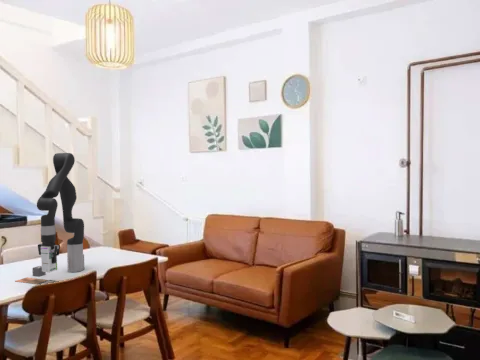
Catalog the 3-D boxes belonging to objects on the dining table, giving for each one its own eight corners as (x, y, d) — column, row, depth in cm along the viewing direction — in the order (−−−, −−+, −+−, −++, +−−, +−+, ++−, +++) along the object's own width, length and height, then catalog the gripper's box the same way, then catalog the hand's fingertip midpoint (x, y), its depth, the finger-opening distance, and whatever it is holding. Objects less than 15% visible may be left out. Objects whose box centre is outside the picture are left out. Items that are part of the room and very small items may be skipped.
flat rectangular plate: (26, 277, 233) (26, 277, 233) (60, 281, 225) (60, 281, 225) (14, 281, 226) (14, 281, 226) (48, 285, 217) (48, 285, 217)
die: (39, 273, 242) (39, 265, 242) (45, 274, 241) (45, 266, 241) (32, 276, 238) (32, 267, 238) (38, 276, 236) (38, 268, 236)
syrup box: (49, 272, 219) (48, 246, 218) (41, 271, 221) (40, 246, 220) (57, 270, 224) (56, 244, 223) (49, 269, 226) (48, 244, 226)
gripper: (63, 232, 223) (64, 262, 223) (43, 231, 227) (44, 260, 228) (52, 235, 216) (53, 265, 216) (32, 233, 220) (34, 263, 221)
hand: (49, 262), depth 222 cm, fingers closed on syrup box, 6 cm apart
